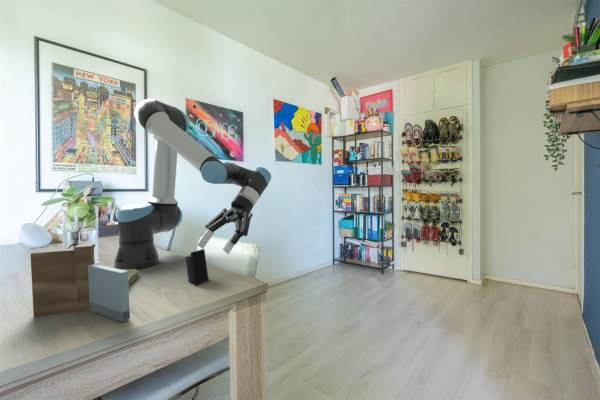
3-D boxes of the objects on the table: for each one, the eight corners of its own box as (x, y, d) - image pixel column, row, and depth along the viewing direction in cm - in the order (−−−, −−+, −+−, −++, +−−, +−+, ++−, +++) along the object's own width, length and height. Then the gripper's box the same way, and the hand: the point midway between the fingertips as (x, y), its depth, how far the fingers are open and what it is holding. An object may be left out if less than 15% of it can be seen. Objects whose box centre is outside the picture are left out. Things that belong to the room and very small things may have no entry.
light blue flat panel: (89, 309, 68) (87, 265, 67) (96, 307, 69) (94, 263, 69) (122, 321, 62) (121, 273, 61) (129, 318, 63) (128, 271, 63)
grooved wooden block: (39, 312, 67) (35, 247, 66) (97, 304, 72) (95, 243, 71) (32, 318, 64) (28, 250, 63) (93, 309, 69) (91, 246, 68)
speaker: (213, 281, 88) (209, 248, 88) (195, 286, 84) (191, 252, 84) (202, 277, 94) (199, 247, 94) (185, 282, 90) (182, 251, 90)
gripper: (275, 209, 98) (244, 260, 87) (228, 206, 113) (197, 250, 102) (264, 194, 94) (230, 247, 82) (217, 194, 108) (183, 238, 97)
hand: (212, 249), depth 92 cm, fingers open, 13 cm apart
